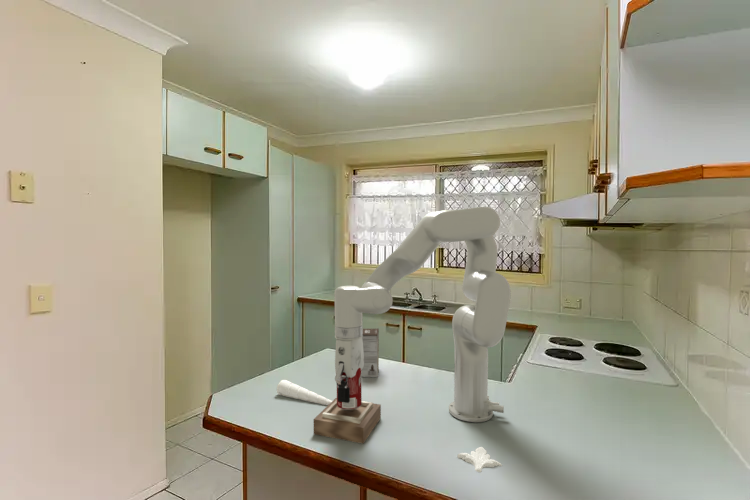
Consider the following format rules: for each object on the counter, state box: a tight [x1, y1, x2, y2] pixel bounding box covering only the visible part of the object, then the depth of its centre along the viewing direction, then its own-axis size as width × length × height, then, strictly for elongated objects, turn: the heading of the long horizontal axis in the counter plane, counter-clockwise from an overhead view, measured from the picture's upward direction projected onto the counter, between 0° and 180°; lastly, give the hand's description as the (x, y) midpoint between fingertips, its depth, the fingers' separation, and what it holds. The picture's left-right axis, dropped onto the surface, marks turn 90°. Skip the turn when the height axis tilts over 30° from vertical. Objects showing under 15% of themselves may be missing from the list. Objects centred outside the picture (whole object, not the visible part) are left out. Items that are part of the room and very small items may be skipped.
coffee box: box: [361, 328, 380, 378], centre depth 144 cm, size 9×6×16 cm
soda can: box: [336, 365, 363, 411], centre depth 103 cm, size 7×7×12 cm
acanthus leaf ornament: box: [456, 446, 503, 473], centre depth 88 cm, size 8×7×2 cm
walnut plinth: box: [313, 397, 382, 444], centre depth 104 cm, size 14×14×5 cm
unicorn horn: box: [276, 379, 333, 406], centre depth 120 cm, size 5×24×5 cm, turn 60°
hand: (349, 395), depth 103 cm, fingers closed on soda can, 6 cm apart
